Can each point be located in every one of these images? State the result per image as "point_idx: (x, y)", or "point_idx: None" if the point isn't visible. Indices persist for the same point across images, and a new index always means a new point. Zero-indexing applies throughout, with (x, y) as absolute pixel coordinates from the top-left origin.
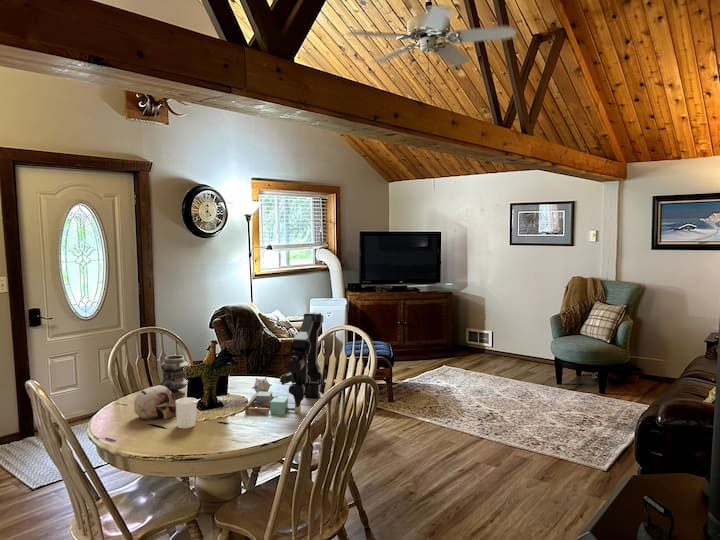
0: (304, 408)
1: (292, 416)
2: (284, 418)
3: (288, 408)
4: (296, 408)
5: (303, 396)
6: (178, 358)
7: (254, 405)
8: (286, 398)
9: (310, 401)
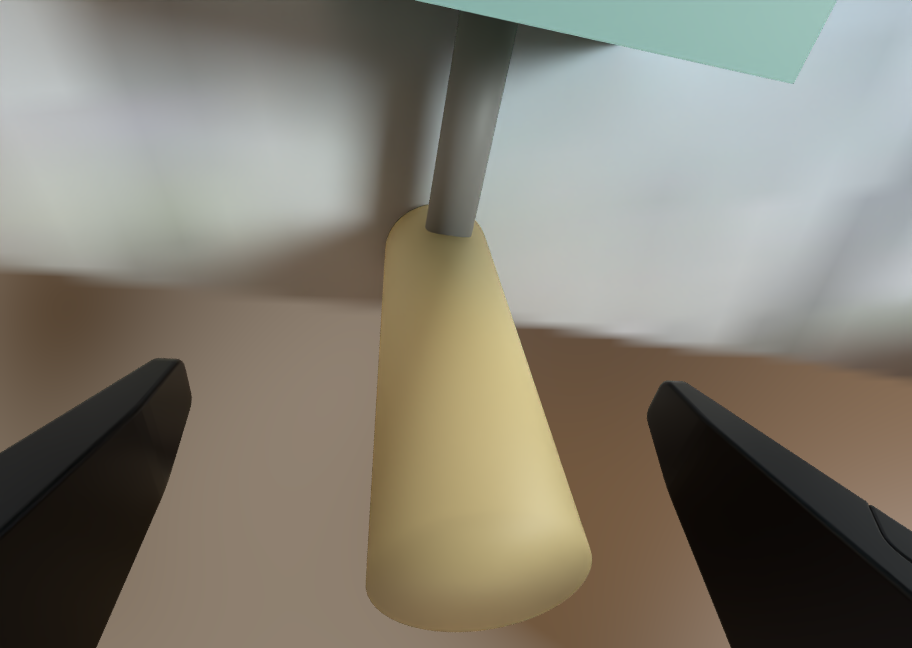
0: (616, 331)
1: (204, 183)
2: (9, 10)
3: (458, 89)
4: (385, 282)
5: (678, 493)
6: None
7: None
8: (767, 27)
9: (886, 373)
